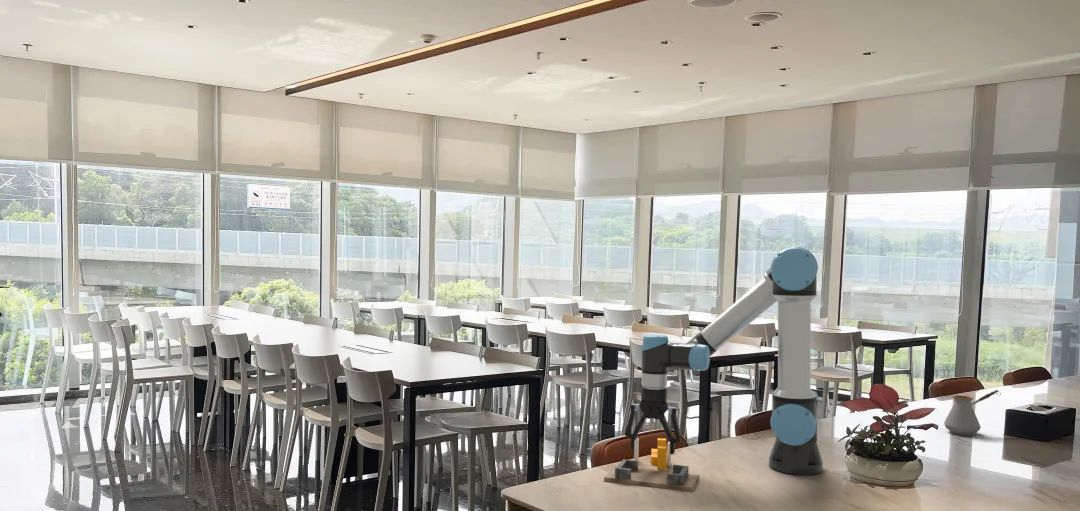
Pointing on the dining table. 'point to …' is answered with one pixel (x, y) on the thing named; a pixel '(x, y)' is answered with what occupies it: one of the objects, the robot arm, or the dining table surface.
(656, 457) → the pipe clamp
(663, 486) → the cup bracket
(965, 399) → the coffee pot
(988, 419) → the dining table surface
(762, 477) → the dining table surface
